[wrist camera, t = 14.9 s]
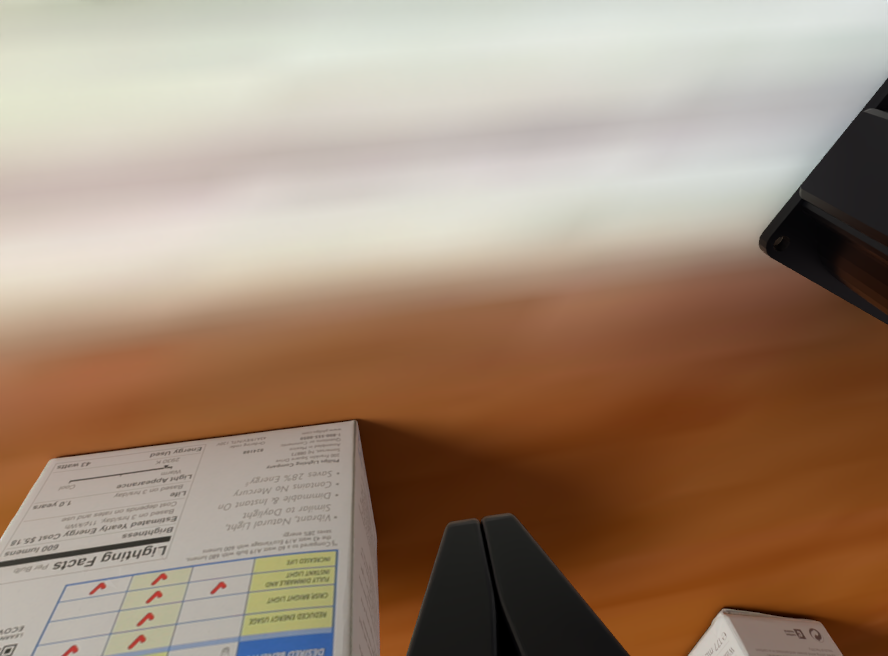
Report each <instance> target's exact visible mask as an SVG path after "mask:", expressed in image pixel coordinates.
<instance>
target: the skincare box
mask: <svg viewBox="0 0 888 656" xmlns="http://www.w3.org/2000/svg"><path fill="white" fill-rule="evenodd" d="M688 656H843V655H842V653H841V652H840V650H839V649H838V647H837V646H836V644H835V643H834V641H833V640H832V638H831V637H830V635H829V634H828V632H827V631H826V629H825V628H824V626H823V625H822V623H820V622H819V621H815V620H809V619H794V618H786V617H779V616H773V615H768V614H762V613H756V612H748V611H741V610H733V609H722V610H721V611H720V612H719V613H718V615H717V616H716V617H715V618H714V620H713V621H712V624H711V626H710V627H709V628H708V630H707V631H706V632H705V634H704V635H703V636H702V637H701V639H700V640H699V641H698V643H697V644H696V645H695V647H694V648H693V649H692V651H691V652H690V653H689V654H688Z"/></svg>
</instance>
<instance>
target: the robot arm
mask: <svg viewBox="0 0 888 656" xmlns="http://www.w3.org/2000/svg"><path fill="white" fill-rule="evenodd" d="M781 236H783V239H782V240H781V242H780V243H779V244H778V245H776V246H774V243H775V241H776V240H777V239H778V238H779V237H781ZM759 246H760V249H761V250H762V251H763V252H764V253H766V254H767V255H768V256H770V257H771V258H773V259H775V260H776V261H778V262H780V263H782V264H783V265H785V266H787V267H788V268H790V269H792V270H794V271H795V272H797V273H799V274H801V275H802V276H804V277H806V278H808V279H809V280H811V281H813V282H815V283H816V284H818V285H820V286H822V287H823V288H825V289H827V290H829V291H830V292H832V293H834V294H835V295H837V296H839V297H841V298H842V299H844V300H846V301H848V302H849V303H851V304H853V305H855V306H856V307H858V308H860V309H862V310H863V311H865V312H867V313H869V314H870V315H872V316H874V317H876V318H877V319H879V320H881V321H883V322H884V323H886V324H888V79H887V80H886V81H885V82H884V83H883V85H882V86H881V87H880V88H879V90H878V91H877V92H876V93H875V95H874V96H873V97H872V98H871V99H870V101H869V102H868V103H867V104H866V106H865V107H864V108H863V109H862V111H861V112H860V113H859V114H858V116H857V117H856V118H855V119H854V120H853V122H852V123H851V124H850V125H849V127H848V128H847V129H846V130H845V132H844V133H843V134H842V135H841V136H840V138H839V139H838V140H837V141H836V143H835V144H834V145H833V146H832V148H831V149H830V150H829V151H828V153H827V154H826V155H825V156H824V157H823V159H822V160H821V161H820V162H819V164H818V165H817V166H816V167H815V169H814V170H813V171H812V172H811V174H810V175H809V176H808V177H807V178H806V180H805V181H804V182H803V183H802V185H801V186H800V187H799V188H798V190H797V191H796V192H795V193H794V194H793V196H792V197H791V198H790V199H789V201H788V202H787V203H786V204H785V206H784V207H783V208H782V209H781V211H780V212H779V213H778V214H777V215H776V217H775V218H774V219H773V220H772V222H771V223H770V224H769V225H768V227H767V228H766V229H765V230H764V231H763V233H762V235H761V236H760V240H759ZM406 656H630V655H629V654H628V653H627V651H626V650H625V649H624V648H623V647H622V645H621V644H620V643H619V642H618V640H617V639H616V638H615V637H614V636H613V634H612V633H611V632H610V631H609V629H608V628H607V627H606V626H605V625H604V623H603V622H602V621H601V620H600V619H599V617H598V616H597V615H596V614H595V612H594V611H593V610H592V609H591V608H590V606H589V605H588V604H587V603H586V602H585V600H584V599H583V598H582V597H581V595H580V594H579V593H578V592H577V591H576V589H575V588H574V587H573V586H572V584H571V583H570V582H569V581H568V580H567V578H566V577H565V576H564V575H563V574H562V572H561V571H560V570H559V569H558V567H557V566H556V565H555V564H554V563H553V561H552V560H551V559H550V558H549V556H548V555H547V554H546V553H545V552H544V550H543V549H542V548H541V547H540V546H539V544H538V543H537V542H536V541H535V539H534V538H533V537H532V536H531V535H530V533H529V532H528V531H527V530H526V528H525V527H524V526H523V525H522V524H521V522H520V521H519V520H518V519H517V518H516V517H515V516H514V515H513V514H511V513H503V514H497V515H490V516H485V517H483V518H482V520H481V524H480V521H479V520H478V519H476V518H471V519H464V520H458V521H452V522H449V523H448V524H447V526H446V528H445V531H444V534H443V537H442V540H441V544H440V547H439V550H438V554H437V557H436V560H435V563H434V567H433V570H432V573H431V576H430V580H429V583H428V586H427V589H426V593H425V596H424V599H423V603H422V606H421V609H420V612H419V616H418V619H417V622H416V625H415V629H414V632H413V635H412V638H411V642H410V645H409V648H408V651H407V655H406Z"/></svg>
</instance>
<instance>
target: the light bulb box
mask: <svg viewBox="0 0 888 656" xmlns="http://www.w3.org/2000/svg"><path fill="white" fill-rule="evenodd" d="M0 656H380V637H379V600H378V574H377V535H376V528H375V522H374V516H373V510H372V504H371V498H370V493H369V487H368V482H367V476H366V470H365V464H364V458H363V452H362V446H361V440H360V434H359V428H358V423H357V421H356V420H352V421H346V422H339V423H330V424H322V425H314V426H307V427H299V428H291V429H283V430H275V431H267V432H259V433H252V434H244V435H237V436H228V437H220V438H212V439H204V440H196V441H188V442H180V443H173V444H165V445H158V446H149V447H141V448H133V449H126V450H118V451H110V452H103V453H95V454H87V455H79V456H71V457H62V458H55V459H51V460H50V461H49V462H48V463H47V465H46V466H45V468H44V470H43V471H42V473H41V475H40V476H39V478H38V480H37V481H36V483H35V484H34V486H33V487H32V489H31V491H30V492H29V494H28V495H27V497H26V499H25V500H24V502H23V504H22V505H21V507H20V509H19V510H18V512H17V513H16V515H15V517H14V518H13V520H12V521H11V523H10V524H9V526H8V527H7V529H6V531H5V532H4V534H3V536H2V537H1V539H0Z"/></svg>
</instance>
